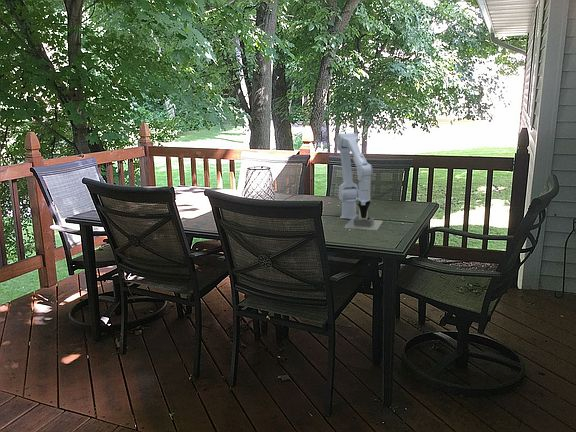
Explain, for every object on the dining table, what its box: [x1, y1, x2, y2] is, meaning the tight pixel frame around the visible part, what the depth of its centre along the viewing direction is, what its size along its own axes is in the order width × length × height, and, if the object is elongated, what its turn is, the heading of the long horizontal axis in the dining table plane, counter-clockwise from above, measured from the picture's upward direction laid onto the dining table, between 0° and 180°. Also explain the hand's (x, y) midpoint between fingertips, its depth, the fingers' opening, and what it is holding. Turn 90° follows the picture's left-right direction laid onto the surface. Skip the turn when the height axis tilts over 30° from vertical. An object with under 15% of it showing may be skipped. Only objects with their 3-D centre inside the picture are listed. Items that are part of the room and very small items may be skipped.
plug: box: [358, 207, 369, 220], centre depth 251 cm, size 4×4×7 cm
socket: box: [344, 215, 383, 231], centre depth 252 cm, size 16×16×4 cm
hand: (364, 216), depth 252 cm, fingers closed on plug, 4 cm apart
